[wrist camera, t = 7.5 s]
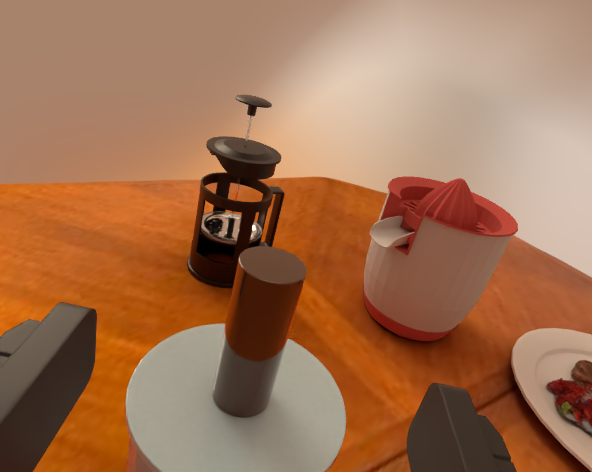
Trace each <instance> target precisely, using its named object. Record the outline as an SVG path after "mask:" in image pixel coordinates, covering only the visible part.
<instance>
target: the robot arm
mask: <svg viewBox="0 0 592 472" xmlns="http://www.w3.org/2000/svg"><path fill="white" fill-rule="evenodd" d="M96 322H97V314H96V310H95V309H92V308H87V307H82V306H78V305H73V304H68V303H63V302H61V303H58V304H57V305H56V306H55V307H54V308H53V309H52V310H51V311H50V313H49V314H48V315H47V316H46V317H45V318H44V319H43V320H42V321H41V322H40V321H35V320H30V319H29V320H27V321H25V322H23V323H21V324H19V325H18V326H16V327H14V328H12V329H10V330H8V331H6V332H5V333H4V334H3V335H2V336H1V337H0V472H33V470H34V469H35V467H36V466H37V464H38V462H39V461H40V459H41V458H42V456H43V454H44V453H45V451H46V450H47V448H48V446H49V445H50V443H51V442H52V440H53V438H54V437H55V435H56V434H57V432H58V430H59V429H60V427H61V426H62V424H63V423H64V421H65V419H66V418H67V416H68V415H69V413H70V411H71V410H72V408H73V407H74V405H75V403H76V402H77V400H78V399H79V397H80V395H81V394H82V392H83V391H84V389H85V387H86V386H87V384H88V382H89V379H90V377H91V374H92V371H93V368H94V363H95V348H96ZM407 453H408V459H409V464H410V469H411V472H517V471H516V469H515V467H514V464H513V463H512V462H511V457H510V455H509V452H508V450H507V448H506V445H505V443H504V441H503V438H502V436H501V435H500V434H499V433H498V431H497V430H496V429H495V428H494V426H493V425H492V424H491V423H490V421H489V420H488V419H487V418H486V416H482V415H477V413H476V410H475V408H474V405H473V403H472V400H471V397H470V395H469V393H468V391H467V390H465V389H463V388H458V387H453V386H448V385H444V384H439V383H432V384H431V385H430V386H429V388H428V390H427V392H426V394H425V396H424V398H423V400H422V402H421V404H420V407H419V409H418V411H417V413H416V415H415V417H414V419H413V421H412V423H411V425H410V428H409V432H408V437H407Z"/></svg>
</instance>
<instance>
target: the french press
mask: <svg viewBox="0 0 592 472" xmlns="http://www.w3.org/2000/svg"><path fill="white" fill-rule="evenodd" d="M235 98H236V100H238V101H240V102H242V103H245V104H248V105H249V106H248V113H247V114H248V115H249V121H248V126H247V131H246V137H245V139H243V138H236V137H214V138H211V139H209V140H208V141H207V148H208V150H210V153H211V154H212V155H216V157H217V158H218V160H219V162H220V163H221V165H222V167H223V168H224V169H225V170H226V171H227V173H212V174H208V175H206V176H204V177H203V178H202V180H201V185H200V195H199V202H198V209H197V215H196V222H195V229H194V236H193V241H192V246H191V253H190V256H189V258H188V262H187V266H188V269H189V271H190V272H191V274H192V275H193V276H195V277H196V278H197V279H199V280H200V281H202V282H205V283H207V284H210V285H213V286H218V287H226V288H232V287H233V284H234V279H235V274H236V269H237V264H238V259H239V256H240V254H241V253H242V252H243V251H244V250H246V249H248V248H252V247H257V246H267V247H272V244H273V240H274V236H275V232H276V228H277V223H278V219H279V215H280V211H281V207H282V202H283V198H284V192H283V191H282V190H281V189H280V188H279V187H269V186H267V185H266V184H264V183H263V182H261V181H259V180H260V179H267V178H270V177H272V176H273V174H274V171H275V167H276V164H278V163H279V162H280V161H281V155H280V154H279V153H278V152H277V151H276V150H275V149H273V148H271V147H269V146H266V145H264V144H262V143H259V142H256V141H252V140H248V137H249V131H250V126H251V121H252V116H255V113H256V109H257V107H264V108H268V107H271V106H272V104H271V103H270V102H268V101H267V100H265V99H262V98H259V97H256V96H251V95H238V96H236V97H235ZM216 182H218V183H217V189H216V194H214V193H212V192H211V191H209V190H208V189H207V188H206V187H205V185H208V184H211V183H216ZM230 183H237V185H236V191H235V196H234V200H230V199H228V193H229V187H230ZM240 184H241V185H245V186H248V187H251V188H254V189H256V190H258V191H260V192H261V193H263V198H262V201H260V202H241V201H236V200H237V195H238V190H239V185H240ZM273 194H276V195H275V200H274V204H273V208H272V213H271V217H270V221H269V226H268V230H267V235H266V239H265V242H261V237H262V233H263V228H264V224H265V219H266V215H267V211H268V208H269V207H270V205H271V201H272V197H273ZM205 200H206V201H207V202H209V203H211V204H213V205H214V207H213V212H209V213H206V214H204V215H203V213H204V206H205ZM225 210H230V211H232V212H225ZM234 211H235V212H242V215H240V214H237V213H234ZM256 212H259V216H258V221H257V223H256V222H255V221H254V219H255V214H256ZM213 252H221V253H227V254H231V255H234V256H233V261H232V264H224V263H219V262H215V261H212V260H210V259H208V258H206V257H204V256H203V255H205V254H208V253H213Z"/></svg>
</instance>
